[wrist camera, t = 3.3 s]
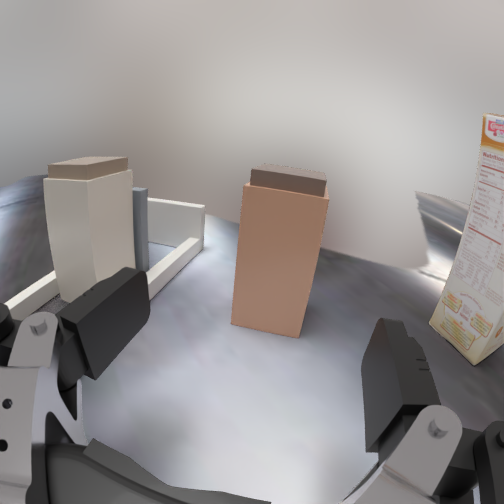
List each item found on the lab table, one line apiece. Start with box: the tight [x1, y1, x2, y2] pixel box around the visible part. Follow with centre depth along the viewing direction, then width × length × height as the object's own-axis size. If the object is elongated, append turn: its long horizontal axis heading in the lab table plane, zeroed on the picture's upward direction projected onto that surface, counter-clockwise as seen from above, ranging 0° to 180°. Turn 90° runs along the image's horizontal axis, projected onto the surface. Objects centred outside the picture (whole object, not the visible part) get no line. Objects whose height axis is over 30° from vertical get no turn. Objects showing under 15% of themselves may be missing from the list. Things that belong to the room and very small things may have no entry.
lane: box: [5, 198, 206, 321], centre depth 22 cm, size 22×9×5 cm, turn 167°
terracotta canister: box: [231, 164, 329, 338], centre depth 20 cm, size 5×5×11 cm
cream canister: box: [43, 157, 136, 303], centre depth 19 cm, size 5×5×11 cm
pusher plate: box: [133, 187, 149, 272], centre depth 24 cm, size 4×6×8 cm, turn 77°
